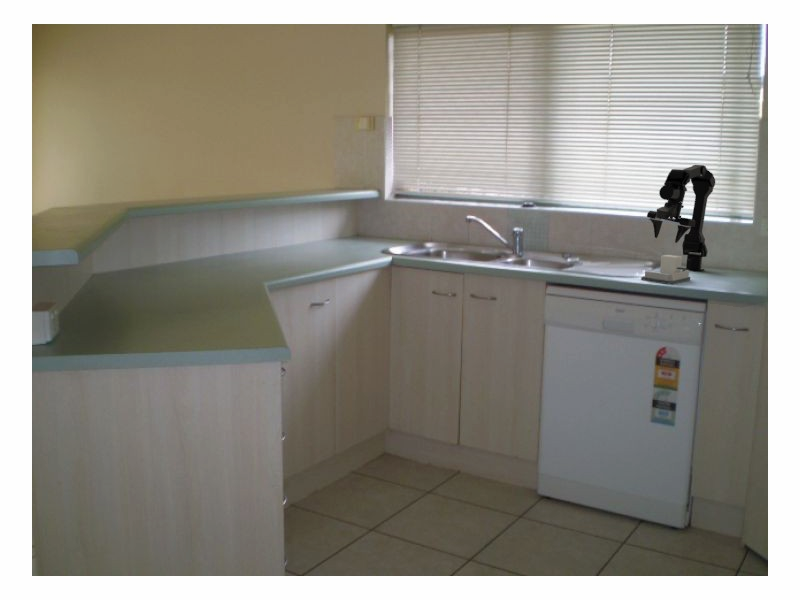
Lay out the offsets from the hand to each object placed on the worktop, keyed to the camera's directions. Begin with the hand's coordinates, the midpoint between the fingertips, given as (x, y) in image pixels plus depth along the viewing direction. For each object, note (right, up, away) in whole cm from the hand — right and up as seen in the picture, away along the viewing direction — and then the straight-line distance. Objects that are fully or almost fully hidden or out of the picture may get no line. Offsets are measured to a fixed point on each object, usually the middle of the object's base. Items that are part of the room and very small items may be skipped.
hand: (665, 240), depth 354 cm
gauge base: (-1, -16, -5) cm, 17 cm away
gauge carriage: (+2, -14, -4) cm, 15 cm away
